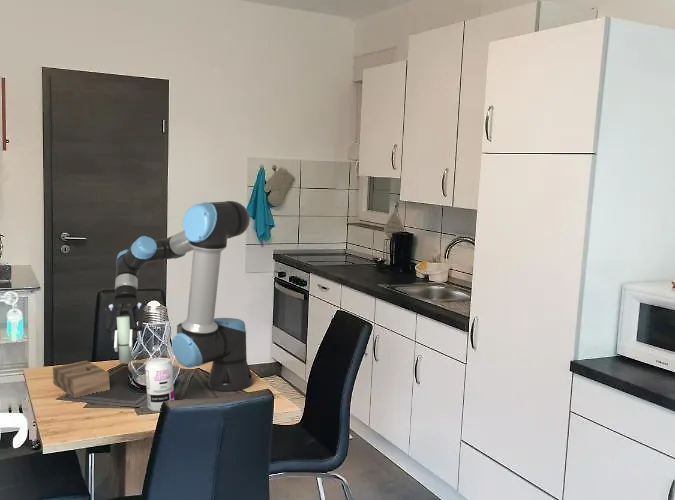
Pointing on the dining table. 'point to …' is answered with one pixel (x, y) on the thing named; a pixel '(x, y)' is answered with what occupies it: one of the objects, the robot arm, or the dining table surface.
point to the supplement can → (159, 382)
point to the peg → (124, 339)
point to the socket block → (81, 378)
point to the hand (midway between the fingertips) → (123, 348)
